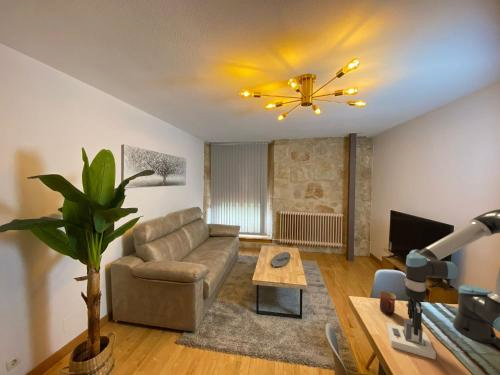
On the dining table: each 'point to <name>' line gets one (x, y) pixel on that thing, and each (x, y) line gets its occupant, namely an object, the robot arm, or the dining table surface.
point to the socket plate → (409, 342)
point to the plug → (408, 329)
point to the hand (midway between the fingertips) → (413, 336)
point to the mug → (387, 302)
